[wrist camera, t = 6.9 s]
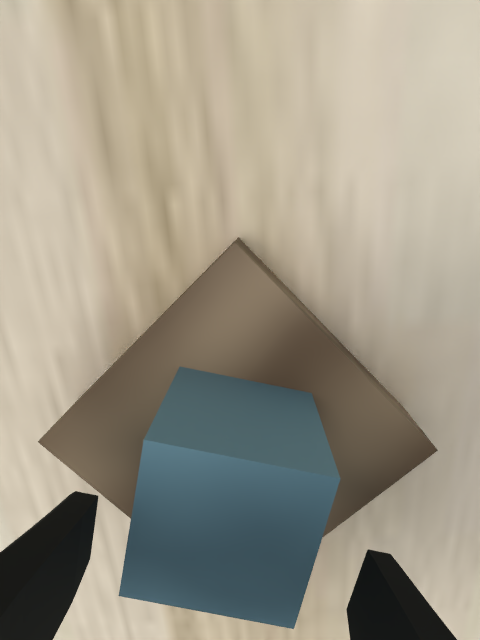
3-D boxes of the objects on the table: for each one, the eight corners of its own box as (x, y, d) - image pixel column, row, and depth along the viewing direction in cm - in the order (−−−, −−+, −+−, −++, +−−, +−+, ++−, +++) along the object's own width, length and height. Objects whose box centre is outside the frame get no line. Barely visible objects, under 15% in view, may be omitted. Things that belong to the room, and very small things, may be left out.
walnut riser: (399, 403, 19) (437, 450, 15) (237, 533, 21) (234, 603, 17) (239, 236, 17) (234, 242, 13) (80, 397, 20) (37, 441, 16)
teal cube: (311, 393, 15) (340, 478, 10) (281, 504, 16) (293, 629, 11) (179, 366, 15) (143, 439, 10) (159, 480, 16) (118, 595, 11)
